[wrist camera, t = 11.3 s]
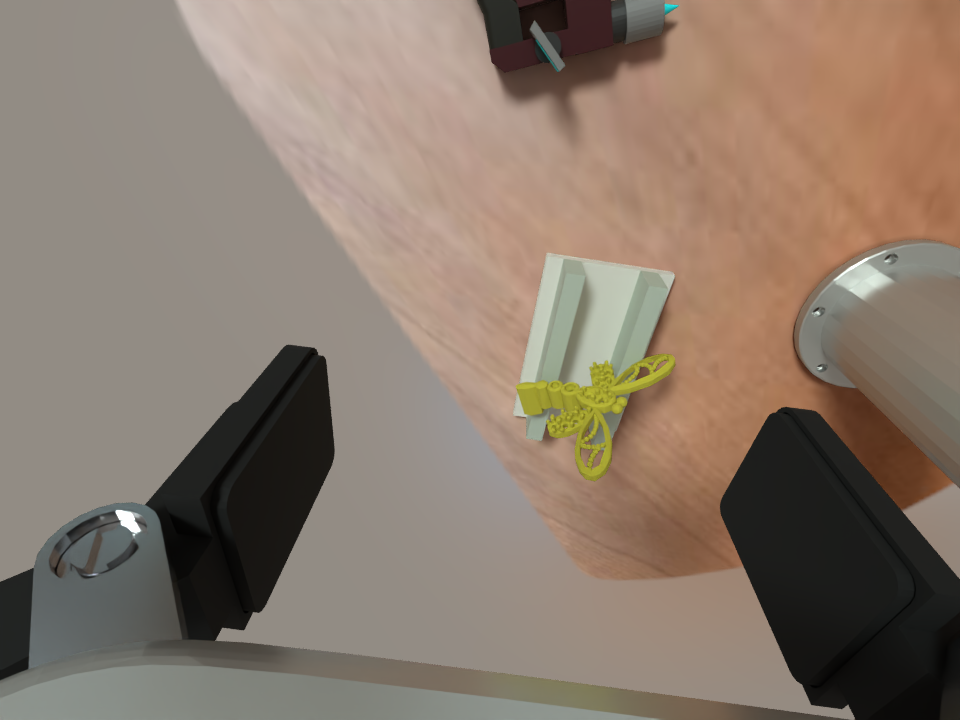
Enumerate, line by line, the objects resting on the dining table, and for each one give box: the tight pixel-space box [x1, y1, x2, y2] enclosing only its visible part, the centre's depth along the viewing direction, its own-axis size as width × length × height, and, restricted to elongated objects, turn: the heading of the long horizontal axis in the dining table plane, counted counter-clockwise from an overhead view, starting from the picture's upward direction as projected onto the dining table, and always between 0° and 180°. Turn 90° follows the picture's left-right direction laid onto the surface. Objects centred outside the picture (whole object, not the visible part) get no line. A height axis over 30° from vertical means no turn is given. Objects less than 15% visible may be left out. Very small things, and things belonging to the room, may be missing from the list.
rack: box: [513, 253, 675, 450], centre depth 39 cm, size 10×16×4 cm, turn 173°
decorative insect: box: [516, 354, 675, 481], centre depth 36 cm, size 13×3×10 cm
